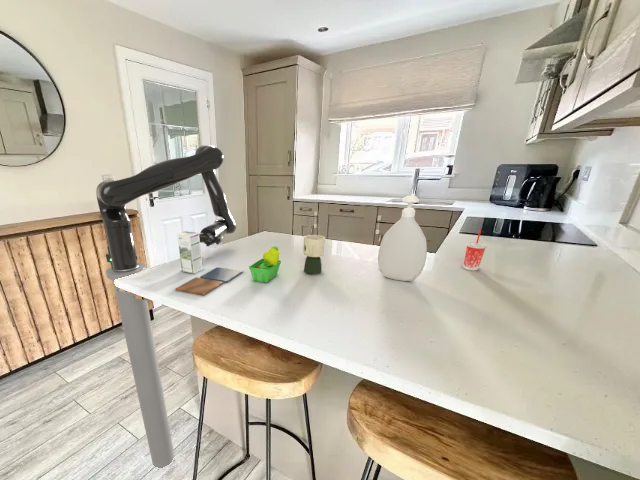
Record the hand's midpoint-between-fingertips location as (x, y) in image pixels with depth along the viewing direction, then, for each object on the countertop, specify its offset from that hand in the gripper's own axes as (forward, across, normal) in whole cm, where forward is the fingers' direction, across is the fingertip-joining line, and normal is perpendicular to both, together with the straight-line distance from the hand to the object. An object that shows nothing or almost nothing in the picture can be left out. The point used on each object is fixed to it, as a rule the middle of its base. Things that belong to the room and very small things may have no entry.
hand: (196, 243), depth 117 cm
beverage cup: (-14, +100, +9) cm, 101 cm away
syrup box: (+6, 0, +9) cm, 11 cm away
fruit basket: (+8, +29, +9) cm, 32 cm away
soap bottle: (0, +73, +9) cm, 73 cm away
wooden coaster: (+20, +9, +9) cm, 24 cm away
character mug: (0, +44, +9) cm, 45 cm away
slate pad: (+9, +13, +9) cm, 18 cm away
